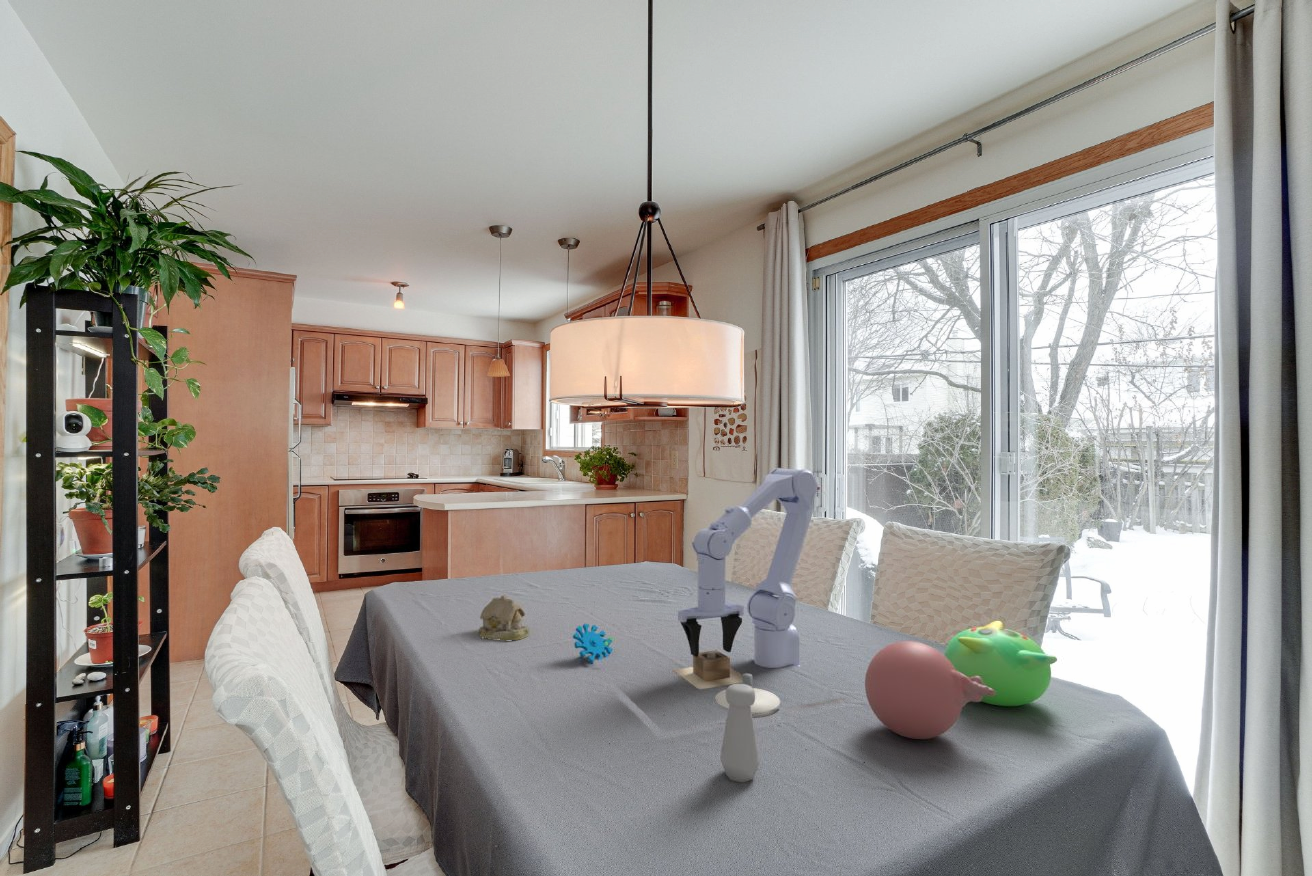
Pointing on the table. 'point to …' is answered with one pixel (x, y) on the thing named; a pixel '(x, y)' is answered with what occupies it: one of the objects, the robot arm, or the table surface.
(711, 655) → the birch stand
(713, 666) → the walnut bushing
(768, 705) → the cream plate
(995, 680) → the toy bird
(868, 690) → the balloon
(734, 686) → the salt shaker
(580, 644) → the gear
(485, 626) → the ceramic model
